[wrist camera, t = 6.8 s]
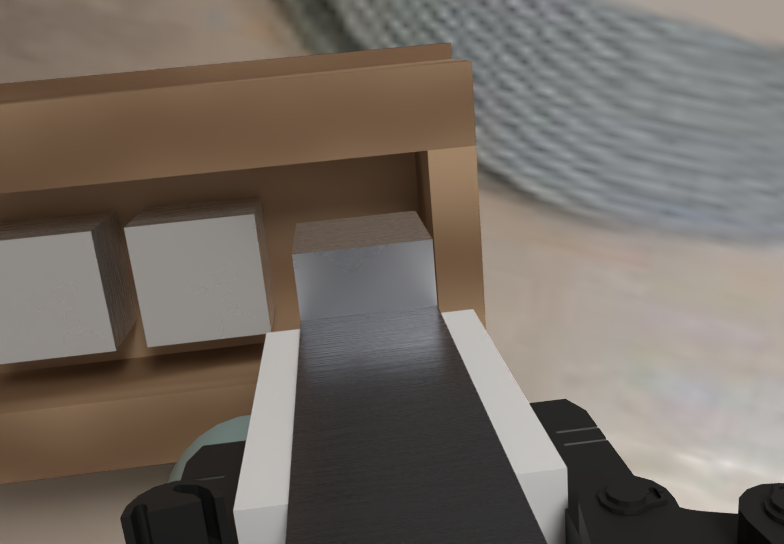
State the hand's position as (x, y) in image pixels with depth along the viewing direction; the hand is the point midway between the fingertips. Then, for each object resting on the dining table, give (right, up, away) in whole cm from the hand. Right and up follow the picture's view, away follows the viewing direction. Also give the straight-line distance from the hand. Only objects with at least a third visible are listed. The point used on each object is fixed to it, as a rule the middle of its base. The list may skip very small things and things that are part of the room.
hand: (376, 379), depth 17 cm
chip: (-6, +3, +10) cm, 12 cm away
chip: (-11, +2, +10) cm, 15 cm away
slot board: (-6, +3, +12) cm, 14 cm away
